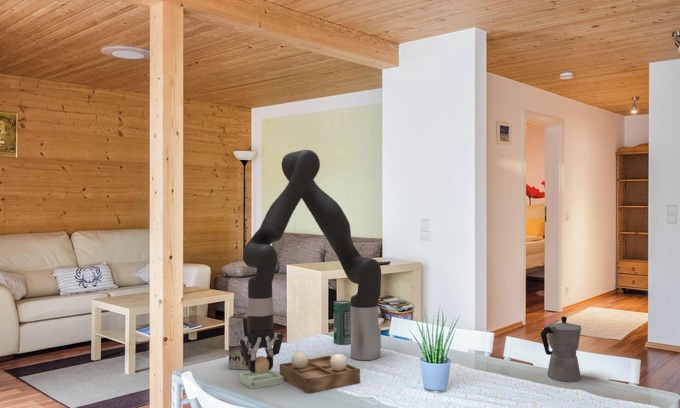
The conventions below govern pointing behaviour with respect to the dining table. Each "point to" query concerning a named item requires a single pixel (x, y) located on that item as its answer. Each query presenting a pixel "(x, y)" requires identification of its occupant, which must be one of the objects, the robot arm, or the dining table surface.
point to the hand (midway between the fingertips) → (260, 370)
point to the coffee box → (237, 331)
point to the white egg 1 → (299, 360)
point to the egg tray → (319, 375)
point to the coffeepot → (562, 350)
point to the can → (342, 322)
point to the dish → (260, 379)
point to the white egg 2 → (338, 362)
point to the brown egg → (261, 365)
